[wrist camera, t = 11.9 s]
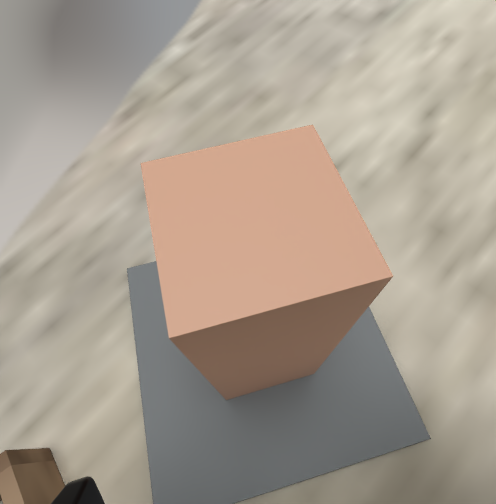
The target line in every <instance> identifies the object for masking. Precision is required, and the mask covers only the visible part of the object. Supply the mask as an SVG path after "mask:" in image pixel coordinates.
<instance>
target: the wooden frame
mask: <svg viewBox="0 0 496 504" xmlns="http://www.w3.org/2000/svg"><path fill="white" fill-rule="evenodd" d="M64 487H65V485H64V483H63V480H62V478H61V475H60V473H59V471H58V468H57V466H56V463H55V461H54V458H53V456H52V453H51V451H50V448H42V449H20V450H5V451H4V452H2V453H1V454H0V501H1V500H2V501H3V504H51V503H52V501H53V500H54V499H55V498H56V497H57V495H58V494H59V493H60V492H61V491H62V489H63V488H64Z"/></svg>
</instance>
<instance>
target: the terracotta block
mask: <svg viewBox="0 0 496 504" xmlns="http://www.w3.org/2000/svg"><path fill="white" fill-rule="evenodd" d="M141 169H142V175H143V181H144V187H145V193H146V200H147V206H148V212H149V218H150V224H151V230H152V237H153V243H154V249H155V255H156V261H157V268H158V274H159V280H160V286H161V292H162V299H163V305H164V311H165V317H166V323H167V329H168V336H169V339H170V340H171V341H172V342H173V343H174V344H175V345H176V346H177V347H178V349H179V350H180V351H181V352H182V353H183V354H184V355H185V356H186V357H187V358H188V359H189V360H190V362H191V363H192V364H193V365H194V366H195V367H196V368H197V369H198V370H199V371H200V372H201V373H202V374H203V376H204V377H205V378H206V379H207V380H208V381H209V382H210V383H211V384H212V385H213V386H214V387H215V389H216V390H217V391H218V392H219V393H220V394H221V395H222V396H223V397H224V398H225V399H226V400H229V399H232V398H235V397H239V396H242V395H245V394H249V393H252V392H255V391H259V390H262V389H265V388H269V387H272V386H275V385H279V384H282V383H285V382H289V381H292V380H295V379H299V378H302V377H305V376H309V375H312V374H314V373H315V372H316V371H317V369H318V368H319V367H320V366H321V365H322V363H323V362H324V361H325V360H326V358H327V357H328V356H329V355H330V353H331V352H332V351H333V350H334V349H335V347H336V346H337V345H338V344H339V342H340V341H341V340H342V339H343V337H344V336H345V335H346V334H347V332H348V331H349V330H350V329H351V328H352V326H353V325H354V324H355V323H356V321H357V320H358V319H359V318H360V316H361V315H362V314H363V313H364V312H365V310H366V309H367V308H368V307H369V305H370V304H371V303H372V302H373V300H374V299H375V298H376V297H377V296H378V294H379V293H380V292H381V291H382V289H383V288H384V287H385V286H386V284H387V283H388V282H389V281H390V280H391V278H392V277H393V275H392V273H391V271H390V269H389V267H388V265H387V263H386V262H385V260H384V258H383V256H382V254H381V252H380V250H379V248H378V247H377V245H376V243H375V241H374V239H373V237H372V235H371V233H370V231H369V230H368V228H367V226H366V224H365V222H364V220H363V218H362V216H361V214H360V213H359V211H358V209H357V207H356V205H355V203H354V201H353V199H352V197H351V196H350V194H349V192H348V190H347V188H346V186H345V184H344V182H343V181H342V179H341V177H340V175H339V173H338V171H337V169H336V167H335V165H334V164H333V162H332V160H331V158H330V156H329V154H328V152H327V150H326V148H325V147H324V145H323V143H322V141H321V139H320V137H319V135H318V133H317V131H316V130H315V128H314V126H313V125H309V126H304V127H300V128H295V129H291V130H286V131H282V132H277V133H273V134H269V135H264V136H260V137H255V138H251V139H246V140H242V141H237V142H233V143H228V144H224V145H219V146H215V147H211V148H206V149H202V150H197V151H193V152H188V153H184V154H179V155H175V156H170V157H166V158H161V159H157V160H153V161H148V162H144V163H141Z"/></svg>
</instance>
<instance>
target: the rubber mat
mask: <svg viewBox="0 0 496 504" xmlns="http://www.w3.org/2000/svg"><path fill="white" fill-rule="evenodd" d="M127 273H128V282H129V291H130V300H131V309H132V318H133V327H134V335H135V344H136V353H137V362H138V371H139V380H140V389H141V398H142V407H143V416H144V425H145V434H146V443H147V452H148V461H149V470H150V479H151V488H152V497H153V504H234V503H237V502H240V501H243V500H246V499H249V498H252V497H255V496H258V495H261V494H264V493H267V492H270V491H273V490H276V489H279V488H282V487H285V486H288V485H292V484H295V483H298V482H301V481H304V480H307V479H310V478H313V477H316V476H319V475H322V474H325V473H328V472H331V471H334V470H337V469H340V468H343V467H346V466H349V465H352V464H355V463H358V462H361V461H364V460H367V459H371V458H374V457H377V456H380V455H383V454H386V453H389V452H392V451H395V450H398V449H401V448H404V447H407V446H410V445H413V444H416V443H419V442H422V441H425V440H428V439H431V438H430V436H429V434H428V432H427V430H426V427H425V425H424V423H423V421H422V419H421V417H420V415H419V413H418V410H417V408H416V406H415V404H414V402H413V400H412V398H411V395H410V393H409V391H408V389H407V387H406V385H405V383H404V380H403V378H402V376H401V374H400V372H399V370H398V368H397V366H396V363H395V361H394V359H393V357H392V355H391V353H390V351H389V348H388V346H387V344H386V342H385V340H384V338H383V336H382V334H381V331H380V329H379V327H378V325H377V323H376V321H375V319H374V316H373V314H372V312H371V310H370V308H369V307H368V308H367V309H366V310H365V312H364V313H363V314H362V315H361V316H360V318H359V319H358V320H357V321H356V323H355V324H354V325H353V326H352V328H351V329H350V330H349V331H348V332H347V334H346V335H345V336H344V337H343V339H342V340H341V341H340V342H339V344H338V345H337V346H336V347H335V349H334V350H333V351H332V352H331V353H330V355H329V356H328V357H327V358H326V360H325V361H324V362H323V363H322V365H321V366H320V367H319V368H318V369H317V371H316V372H315V373H314V374H312V375H309V376H305V377H302V378H299V379H295V380H292V381H289V382H285V383H282V384H279V385H275V386H272V387H269V388H265V389H262V390H259V391H255V392H252V393H249V394H245V395H242V396H239V397H235V398H232V399H229V400H226V399H225V398H224V397H223V396H222V395H221V394H220V393H219V392H218V391H217V390H216V389H215V387H214V386H213V385H212V384H211V383H210V382H209V381H208V380H207V379H206V378H205V377H204V376H203V374H202V373H201V372H200V371H199V370H198V369H197V368H196V367H195V366H194V365H193V364H192V363H191V362H190V360H189V359H188V358H187V357H186V356H185V355H184V354H183V353H182V352H181V351H180V350H179V349H178V347H177V346H176V345H175V344H174V343H173V342H172V341H171V340H170V339H169V336H168V329H167V323H166V317H165V311H164V305H163V299H162V292H161V286H160V280H159V274H158V268H157V261H155V262H151V263H147V264H143V265H139V266H135V267H131V268H127Z"/></svg>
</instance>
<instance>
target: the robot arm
mask: <svg viewBox="0 0 496 504" xmlns="http://www.w3.org/2000/svg"><path fill="white" fill-rule="evenodd" d="M51 504H105V503H104V501H103V499H102V496H101V494H100V492H99V490H98V488H97V486H96V483H95V481H94V480H93V478H91V477H84V478H81V479H78V480H74V481H72V482H70V483H68V484H67V485H66V486H65V487H64V488H63V489H62V491H61V492H60V493H59V494H58V495H57V497H56V498H55V499H54V500H53V501H52V503H51Z"/></svg>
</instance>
